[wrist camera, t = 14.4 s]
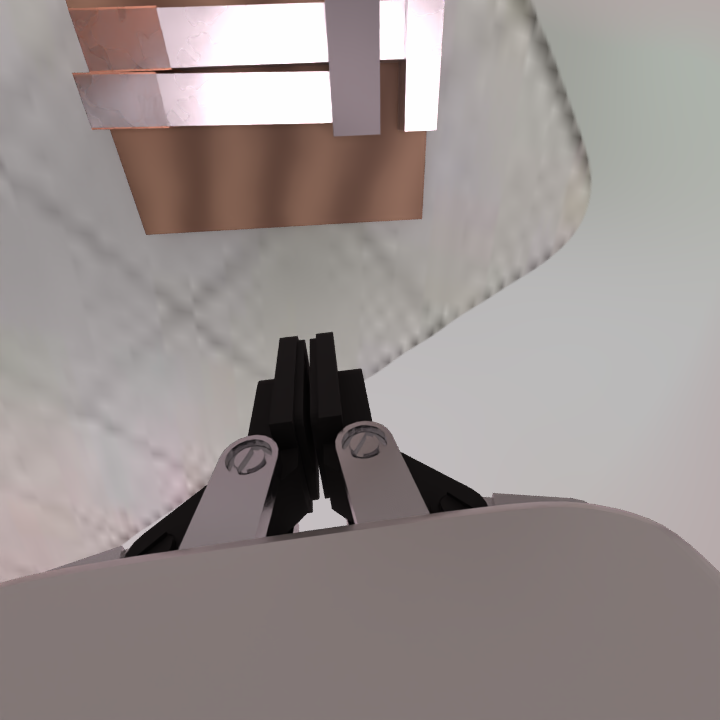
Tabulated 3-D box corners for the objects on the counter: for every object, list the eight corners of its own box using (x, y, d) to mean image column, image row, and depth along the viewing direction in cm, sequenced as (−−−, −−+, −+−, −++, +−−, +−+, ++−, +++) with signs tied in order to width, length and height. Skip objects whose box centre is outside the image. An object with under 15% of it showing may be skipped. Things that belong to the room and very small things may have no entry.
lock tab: (333, 135, 26) (333, 136, 24) (323, -17, 21) (323, -25, 20) (377, 133, 26) (380, 134, 24) (375, -18, 22) (379, -27, 20)
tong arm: (107, 128, 27) (92, 129, 25) (90, 75, 25) (72, 72, 23) (373, 122, 28) (377, 123, 26) (373, 71, 26) (377, 68, 25)
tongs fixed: (128, 142, 28) (109, 145, 25) (87, 16, 24) (59, 5, 21) (426, 128, 29) (436, 129, 26) (432, 4, 25) (445, -7, 22)
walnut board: (151, 230, 32) (146, 234, 31) (70, -12, 24) (59, -17, 23) (419, 215, 33) (421, 218, 32) (430, -22, 25) (434, -28, 24)
